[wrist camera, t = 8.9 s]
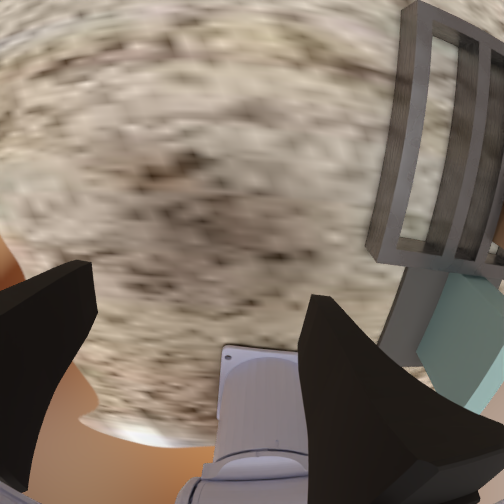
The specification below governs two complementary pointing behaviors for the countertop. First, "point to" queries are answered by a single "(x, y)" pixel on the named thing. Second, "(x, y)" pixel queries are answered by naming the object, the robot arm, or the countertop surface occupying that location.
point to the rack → (458, 155)
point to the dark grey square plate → (413, 314)
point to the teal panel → (466, 342)
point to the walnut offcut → (500, 230)
